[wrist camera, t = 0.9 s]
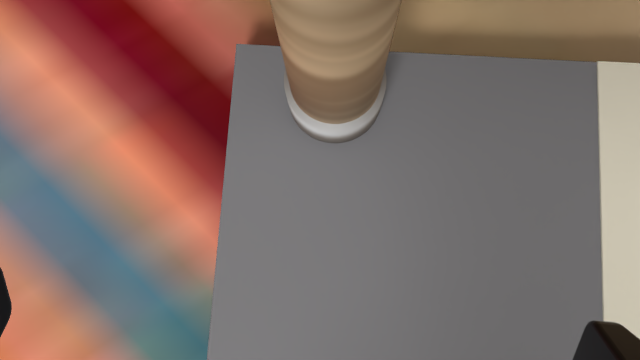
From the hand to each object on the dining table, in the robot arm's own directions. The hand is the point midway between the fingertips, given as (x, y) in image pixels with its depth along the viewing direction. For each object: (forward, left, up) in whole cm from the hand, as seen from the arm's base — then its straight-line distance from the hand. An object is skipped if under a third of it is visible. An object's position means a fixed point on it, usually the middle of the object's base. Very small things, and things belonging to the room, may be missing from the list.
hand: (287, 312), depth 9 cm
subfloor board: (+1, -6, -13) cm, 15 cm away
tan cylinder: (+7, 0, -12) cm, 14 cm away
